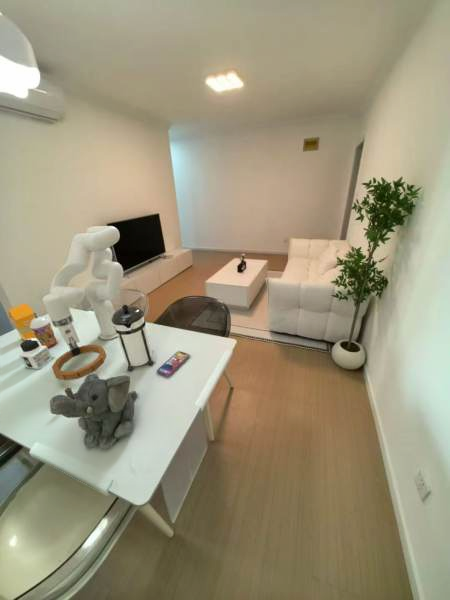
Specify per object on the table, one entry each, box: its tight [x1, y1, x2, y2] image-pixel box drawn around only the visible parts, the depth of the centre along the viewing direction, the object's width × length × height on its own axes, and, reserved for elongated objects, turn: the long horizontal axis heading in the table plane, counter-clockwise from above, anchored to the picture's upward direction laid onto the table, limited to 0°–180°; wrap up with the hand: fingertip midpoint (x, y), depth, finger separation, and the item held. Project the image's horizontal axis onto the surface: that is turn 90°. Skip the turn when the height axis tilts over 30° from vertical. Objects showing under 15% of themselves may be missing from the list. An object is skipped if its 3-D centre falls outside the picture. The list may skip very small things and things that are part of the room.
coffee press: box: [111, 304, 155, 372], centre depth 102 cm, size 17×16×30 cm
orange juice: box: [7, 302, 37, 341], centre depth 128 cm, size 8×9×20 cm
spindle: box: [64, 387, 77, 399], centre depth 88 cm, size 4×4×6 cm
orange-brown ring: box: [51, 344, 107, 382], centre depth 102 cm, size 20×20×3 cm
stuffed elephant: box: [49, 373, 138, 449], centre depth 72 cm, size 19×21×27 cm
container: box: [18, 338, 54, 370], centre depth 108 cm, size 8×8×13 cm
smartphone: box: [157, 350, 190, 377], centre depth 104 cm, size 1×7×15 cm
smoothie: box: [30, 312, 58, 349], centre depth 119 cm, size 8×8×20 cm
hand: (76, 353), depth 108 cm, fingers closed on orange-brown ring, 2 cm apart
